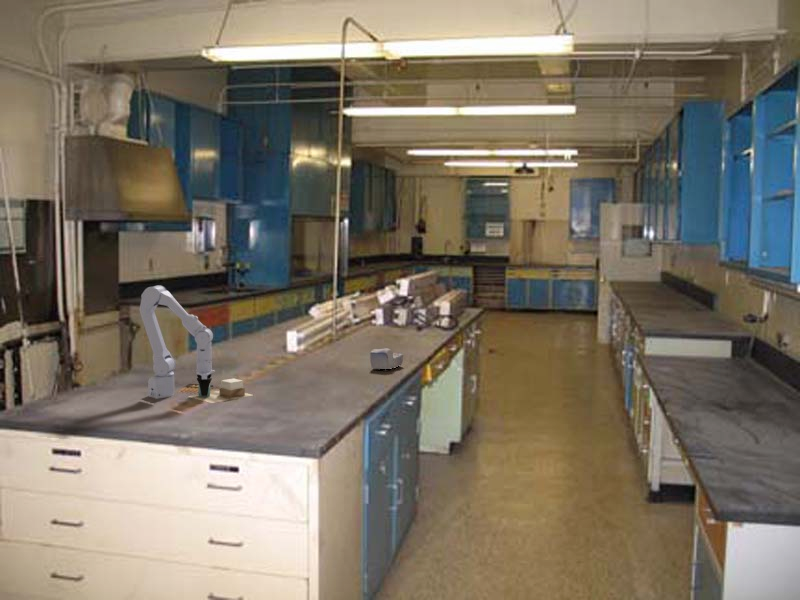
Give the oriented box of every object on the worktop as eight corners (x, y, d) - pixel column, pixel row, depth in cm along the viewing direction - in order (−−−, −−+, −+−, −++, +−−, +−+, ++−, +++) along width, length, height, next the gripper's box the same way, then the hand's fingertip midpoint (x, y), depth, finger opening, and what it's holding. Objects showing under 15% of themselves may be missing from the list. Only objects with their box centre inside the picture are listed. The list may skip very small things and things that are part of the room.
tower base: (230, 398, 297) (230, 390, 297) (219, 395, 301) (219, 387, 301) (244, 395, 302) (244, 388, 302) (233, 392, 307) (233, 385, 306)
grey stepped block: (367, 348, 364) (380, 343, 383) (367, 370, 364) (380, 364, 383) (393, 350, 360) (405, 345, 379) (392, 372, 361) (404, 366, 380)
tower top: (230, 390, 297) (230, 382, 297) (221, 387, 301) (221, 380, 301) (242, 388, 302) (242, 380, 302) (233, 385, 306) (233, 378, 305)
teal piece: (202, 397, 296) (202, 386, 296) (196, 396, 299) (196, 384, 299) (212, 396, 300) (212, 384, 299) (205, 394, 303) (205, 383, 302)
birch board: (212, 405, 288) (212, 403, 288) (187, 398, 298) (187, 396, 298) (253, 397, 303) (253, 395, 303) (229, 390, 314) (229, 388, 313)
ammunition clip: (213, 385, 314) (200, 392, 303) (213, 389, 315) (200, 396, 303) (189, 383, 316) (175, 390, 305) (189, 387, 317) (175, 395, 305)
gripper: (215, 362, 292) (215, 397, 293) (214, 356, 306) (214, 389, 307) (196, 363, 290) (196, 398, 292) (196, 356, 304) (196, 390, 306)
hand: (204, 393), depth 299 cm, fingers open, 5 cm apart
